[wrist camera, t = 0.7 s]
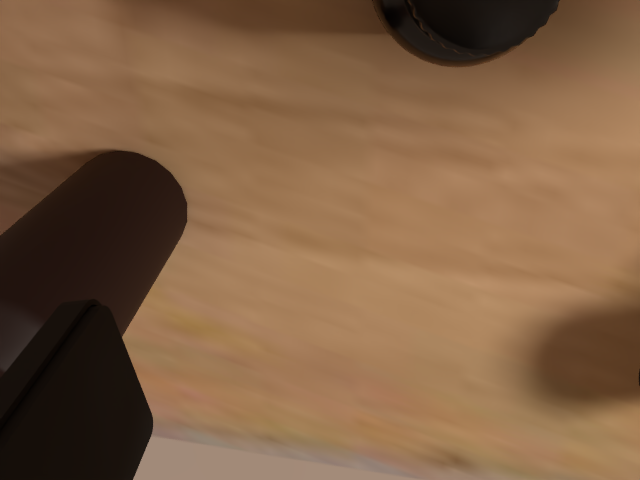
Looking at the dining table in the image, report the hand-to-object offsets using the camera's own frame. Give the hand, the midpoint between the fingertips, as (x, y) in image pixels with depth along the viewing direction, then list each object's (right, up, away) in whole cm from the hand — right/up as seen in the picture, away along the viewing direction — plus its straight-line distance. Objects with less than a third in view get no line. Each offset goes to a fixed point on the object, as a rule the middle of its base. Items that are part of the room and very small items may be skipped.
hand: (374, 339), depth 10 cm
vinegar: (-12, +4, +25) cm, 28 cm away
